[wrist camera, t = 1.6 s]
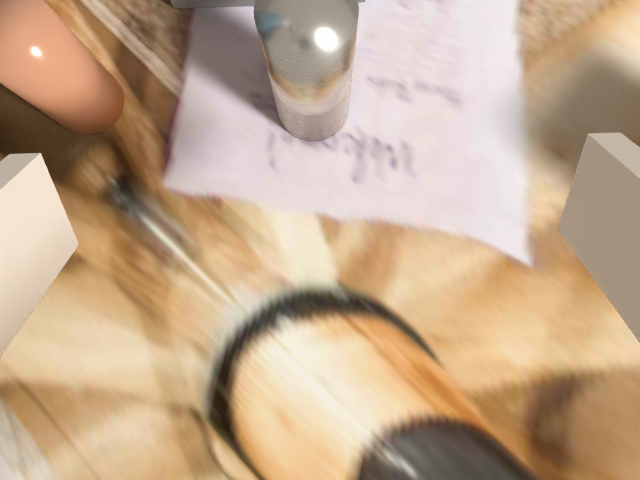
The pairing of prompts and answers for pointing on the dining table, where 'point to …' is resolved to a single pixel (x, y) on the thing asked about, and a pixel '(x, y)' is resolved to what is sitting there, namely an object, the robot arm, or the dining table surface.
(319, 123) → the steel roller
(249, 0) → the tray
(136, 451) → the dining table surface
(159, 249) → the dining table surface
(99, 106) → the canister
